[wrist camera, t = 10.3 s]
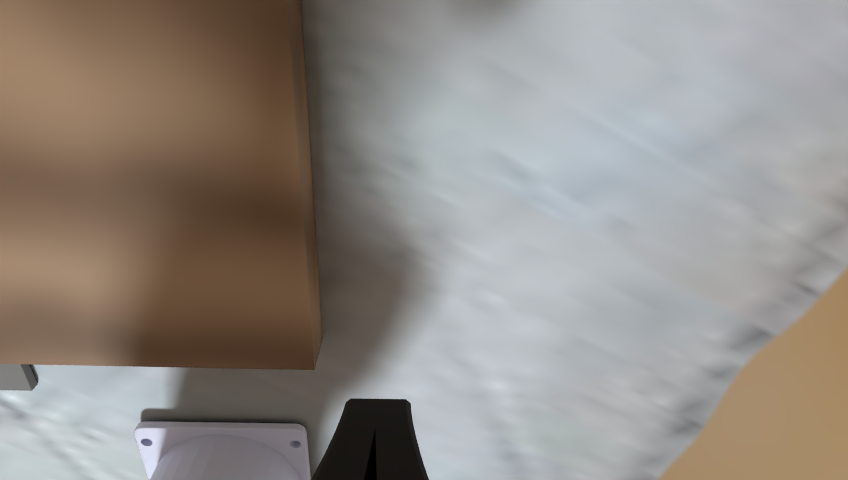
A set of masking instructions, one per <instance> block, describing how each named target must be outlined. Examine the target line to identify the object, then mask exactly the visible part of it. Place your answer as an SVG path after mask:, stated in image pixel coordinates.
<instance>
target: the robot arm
mask: <svg viewBox="0 0 848 480" xmlns="http://www.w3.org/2000/svg"><path fill="white" fill-rule="evenodd" d="M134 435H135V438H136V442H137V445H138V448H139V451H140V454H141V457H142V460H143V463H144V467H145V470H146V473H147V476H148V479H149V480H311V474H310V464H309V453H308V442H307V431H306V429H305V428H304V427H303V426H302V425H300V424H286V423H219V422H153V421H145V422H141V423H139V424H138V425H137V427H136V429H135V430H134ZM312 480H429V479H428V476H427V473H426V470H425V467H424V464H423V461H422V458H421V454H420V451H419V447H418V443H417V439H416V435H415V431H414V426H413V421H412V414H411V403H409V402H408V401H407V400H406V399H350V400H348V401H347V402H346V404H345V407H344V410H343V413H342V416H341V419H340V421H339V424H338V426H337V429H336V431H335V433H334V436H333V438H332V440H331V442H330V444H329V446H328V449H327V451H326V453H325V455H324V457H323V459H322V461H321V462H320V464H319V466H318V468H317V470H316V472H315V474H314V476H313V478H312Z"/></svg>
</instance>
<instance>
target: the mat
mask: <svg viewBox="0 0 848 480" xmlns="http://www.w3.org/2000/svg"><path fill="white" fill-rule="evenodd" d="M36 385H37V381H36V379H35V376H34V374H33V372H32V369H31V367H30V365H29V364H0V390H29V391H32V390H33V389H34V388H35V386H36Z"/></svg>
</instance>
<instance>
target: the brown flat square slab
mask: <svg viewBox="0 0 848 480" xmlns="http://www.w3.org/2000/svg"><path fill="white" fill-rule="evenodd" d="M321 342H322V323H321V307H320V292H319V276H318V260H317V245H316V229H315V213H314V198H313V182H312V166H311V151H310V135H309V119H308V104H307V88H306V72H305V56H304V41H303V25H302V9H301V0H0V364H39V365H91V366H143V367H195V368H247V369H299V370H315V366H316V362H317V358H318V354H319V350H320V346H321Z"/></svg>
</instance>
